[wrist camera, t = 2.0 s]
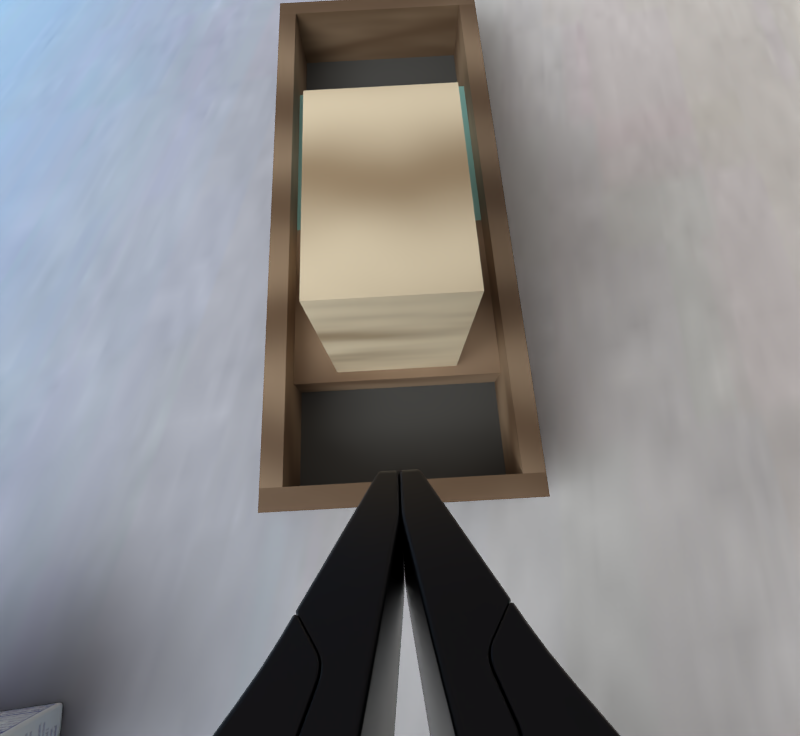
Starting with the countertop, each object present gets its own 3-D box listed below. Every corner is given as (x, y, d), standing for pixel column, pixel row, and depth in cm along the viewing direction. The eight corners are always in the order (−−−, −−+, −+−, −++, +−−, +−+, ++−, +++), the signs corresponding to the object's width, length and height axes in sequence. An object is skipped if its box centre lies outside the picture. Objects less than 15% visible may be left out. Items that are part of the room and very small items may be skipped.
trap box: (527, 497, 21) (549, 496, 18) (281, 511, 21) (258, 512, 18) (465, 48, 31) (473, -7, 27) (294, 57, 31) (280, 3, 27)
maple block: (456, 365, 21) (484, 290, 14) (337, 372, 21) (299, 301, 14) (441, 214, 24) (458, 82, 16) (335, 220, 24) (303, 90, 16)
